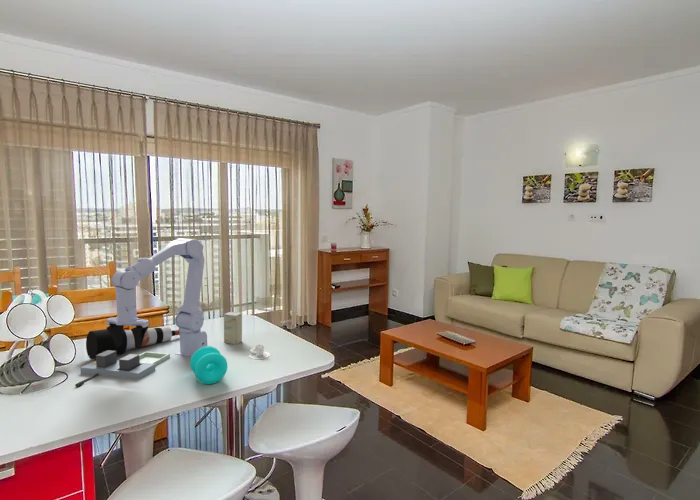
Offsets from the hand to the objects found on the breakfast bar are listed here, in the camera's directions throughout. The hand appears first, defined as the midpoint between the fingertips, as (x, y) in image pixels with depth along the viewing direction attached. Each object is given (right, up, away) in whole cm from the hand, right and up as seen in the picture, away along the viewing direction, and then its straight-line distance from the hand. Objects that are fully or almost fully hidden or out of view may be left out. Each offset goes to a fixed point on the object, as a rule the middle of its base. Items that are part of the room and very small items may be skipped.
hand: (128, 346), depth 134 cm
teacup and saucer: (+40, -8, +21) cm, 46 cm away
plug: (0, -9, +1) cm, 10 cm away
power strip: (-5, -10, -2) cm, 11 cm away
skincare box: (+25, -6, +33) cm, 42 cm away
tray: (+1, -8, +11) cm, 14 cm away
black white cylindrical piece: (-10, -7, +25) cm, 28 cm away
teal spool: (+28, -10, -3) cm, 30 cm away
